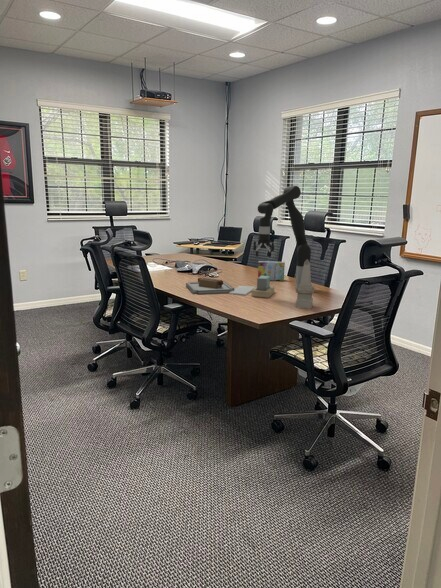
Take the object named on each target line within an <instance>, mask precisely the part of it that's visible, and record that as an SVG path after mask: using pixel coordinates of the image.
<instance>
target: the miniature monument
mask: <svg viewBox="0 0 441 588" xmlns="http://www.w3.org/2000/svg"><path fill="white" fill-rule="evenodd" d="M315 288H316V287H315V286H313V284H312V280H311V261H310V262H309V261H308V259H307V260H306V261H305V262H304V266H303V272H302V277H301V283H300V285H298V287H297V288H295V293H296V294H297V295H296V296H297V298H296V300H295V308H299V309H310V310H311V309H312V307H313V303H314V299H313V294H314V292H315Z"/></svg>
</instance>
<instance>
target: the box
mask: <svg viewBox="0 0 441 588" xmlns="http://www.w3.org/2000/svg"><path fill="white" fill-rule="evenodd" d="M256 280H257V281H256V287H257V290H258V291H266V290H267V289H268V288H269V287H270V286H271V280H270V276H260V277H259V278H258V277H257V279H256Z"/></svg>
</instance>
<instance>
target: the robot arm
mask: <svg viewBox="0 0 441 588" xmlns="http://www.w3.org/2000/svg"><path fill="white" fill-rule="evenodd" d="M301 194H302V192H301V188H300V187H299V186H297V185H292V186H288V187H285V188H284V189H283V193H282V194H280V195H277V196H274V197H272V198H271V199H269V200H266V201H263V202H261V203H259V205H258V206H257V212H258V213H259V214H262V215H264V216H263V217H260V219H259V228H258V241H256V240H255V241H253V246H252V247H253V251H255V256H256V257H259V253H260V252H259V250H260V249H267V250H268V258H271V257H272V253H273V252H274V251H275V241H273V242H272V241H270V240H271V219H272V215H273V213H274V210H276V209H278V208H279V207H280V206H283V205H284V204H285V205H286V207H287V210H288V215H289V219H290V224H291V228H292V229H291V230H292V231H293V232H292V233H293V235H294V237H295V238H294V239H295V243H296V252H297V261H296V268H295V271H296V272H295V285H294V286H295V287H294V288H295V289H296V288H297V287H298V285H300V283H301V277H302V272H303V266H304V262H305V261H306V260H307V259H308V261H309V262H310V263H311V256H312V255H311V254H312V249H311V247H310V246H309V244H308V241H307V237H306V225H305V219H304V216H303V214H302V213H301V212H300V210H299V209H298V208H297V207H296V205H295V201H294V200H297V199H299V197H300V196H301ZM257 245H258V246H257ZM270 246H271V247H270Z"/></svg>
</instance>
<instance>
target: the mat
mask: <svg viewBox="0 0 441 588" xmlns="http://www.w3.org/2000/svg"><path fill="white" fill-rule="evenodd" d="M255 287H256V286H251V285H250V286H249V285H239V286H237V287H235V288H234V291H232V292H229V293H228V294H229V295H237V296H247V295H249V294H250V293H251V292H252V290H253V289H254V288H255Z"/></svg>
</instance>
